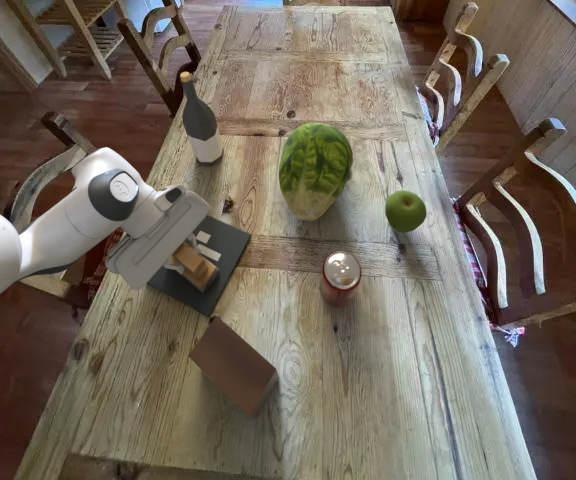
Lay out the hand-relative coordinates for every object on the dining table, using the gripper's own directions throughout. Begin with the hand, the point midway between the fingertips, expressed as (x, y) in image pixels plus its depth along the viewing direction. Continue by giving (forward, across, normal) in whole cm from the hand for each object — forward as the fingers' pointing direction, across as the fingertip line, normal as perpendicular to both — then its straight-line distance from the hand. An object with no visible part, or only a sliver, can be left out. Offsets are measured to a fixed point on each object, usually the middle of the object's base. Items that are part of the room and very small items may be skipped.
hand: (191, 262), depth 71 cm
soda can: (+23, +14, -15) cm, 31 cm away
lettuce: (+12, +32, -3) cm, 34 cm away
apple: (+27, +34, -19) cm, 48 cm away
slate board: (+3, +3, +5) cm, 6 cm away
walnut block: (+17, -8, -10) cm, 21 cm away
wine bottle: (-10, +24, +18) cm, 32 cm away
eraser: (+3, 0, +4) cm, 5 cm away
